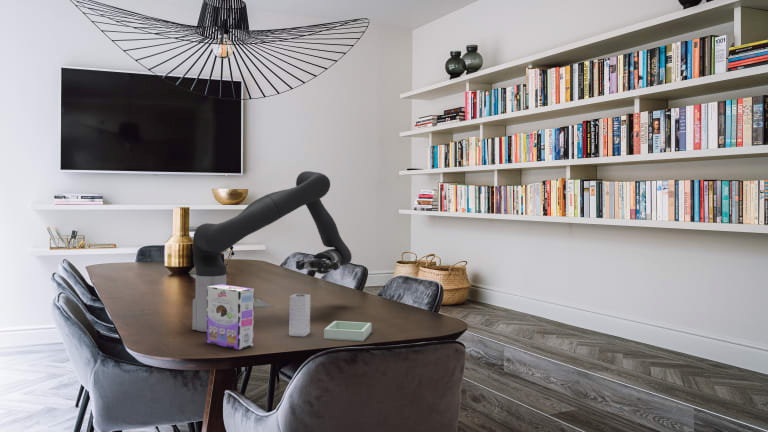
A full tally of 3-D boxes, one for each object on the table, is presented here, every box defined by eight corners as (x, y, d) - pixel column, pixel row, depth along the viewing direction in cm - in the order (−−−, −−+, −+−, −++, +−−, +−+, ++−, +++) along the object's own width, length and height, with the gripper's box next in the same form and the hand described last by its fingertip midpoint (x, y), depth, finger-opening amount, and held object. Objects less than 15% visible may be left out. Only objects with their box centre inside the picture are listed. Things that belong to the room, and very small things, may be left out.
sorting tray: (324, 338, 171) (324, 329, 171) (334, 330, 183) (334, 320, 183) (363, 341, 169) (363, 331, 169) (371, 332, 181) (371, 323, 181)
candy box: (254, 346, 161) (255, 288, 161) (238, 350, 156) (239, 290, 156) (221, 338, 169) (222, 283, 168) (205, 342, 164) (206, 285, 164)
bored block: (289, 335, 175) (289, 296, 174) (294, 331, 180) (295, 293, 179) (304, 336, 174) (305, 296, 173) (309, 332, 179) (310, 294, 178)
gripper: (306, 250, 204) (291, 255, 188) (345, 251, 202) (333, 256, 186) (306, 271, 204) (290, 278, 188) (344, 273, 202) (332, 279, 186)
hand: (311, 267), depth 187 cm, fingers open, 8 cm apart
